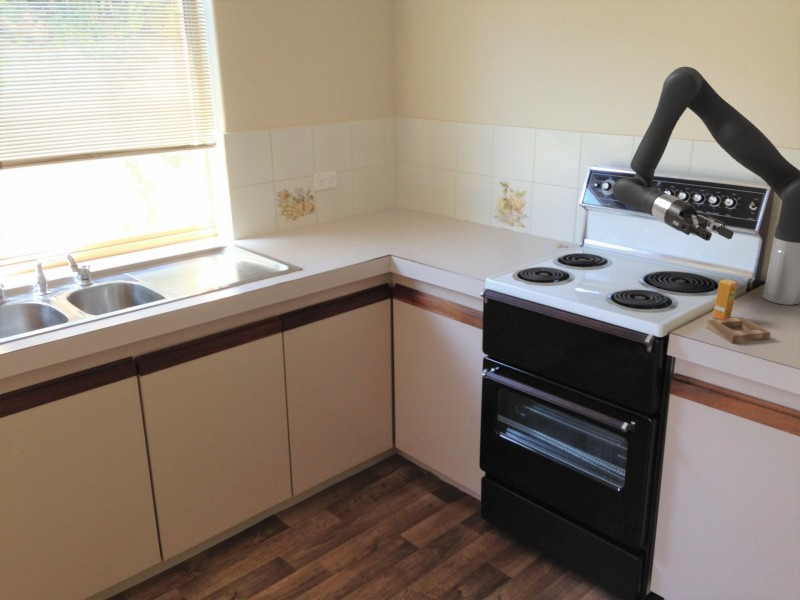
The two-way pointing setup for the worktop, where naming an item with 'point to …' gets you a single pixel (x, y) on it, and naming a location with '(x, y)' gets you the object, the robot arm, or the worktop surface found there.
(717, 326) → the socket board
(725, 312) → the supplement box
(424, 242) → the worktop surface
